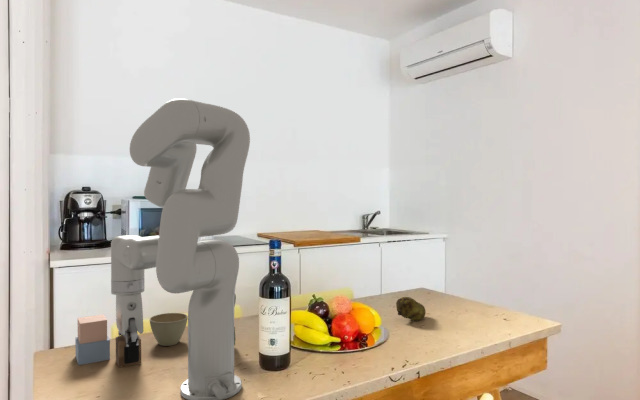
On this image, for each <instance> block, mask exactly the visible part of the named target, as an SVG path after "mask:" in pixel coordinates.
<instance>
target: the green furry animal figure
mask: <svg viewBox="0 0 640 400" xmlns="http://www.w3.org/2000/svg"><path fill="white" fill-rule="evenodd" d="M395 307H396V311H397V315H398V316H401V317H402V318H404V319H408V320H410V321H415V322H416V321H422V320H423V319H424V318H425V316H426V307H425V306H424V305H423V304H422V303H420V302H417V301H416V300H415V299H414V298H412V297H410V296H404V297H403V296H402V297H400V298H399V299H397V301H396V302H395Z"/></svg>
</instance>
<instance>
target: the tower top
mask: <svg viewBox="0 0 640 400" xmlns="http://www.w3.org/2000/svg"><path fill="white" fill-rule="evenodd" d="M107 336H108V319H107V317H106V316H105V314H97V315H90V316H89V315H88V316H84V317H83V316H82V317H77V337H78V340H79V343H80V344H85V343H91V342H97V341H103V340H107Z"/></svg>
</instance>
